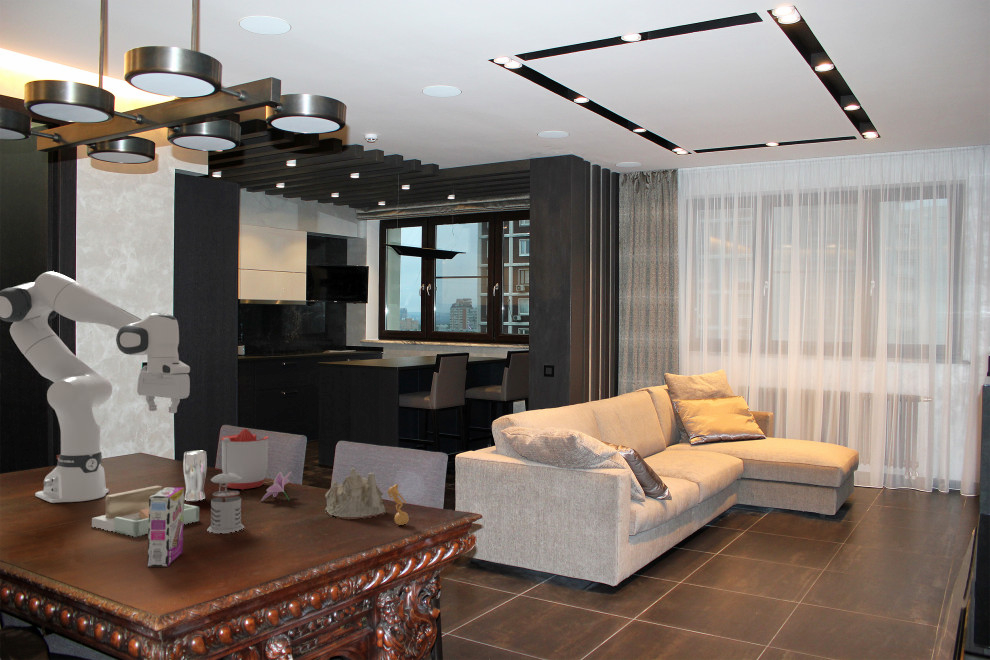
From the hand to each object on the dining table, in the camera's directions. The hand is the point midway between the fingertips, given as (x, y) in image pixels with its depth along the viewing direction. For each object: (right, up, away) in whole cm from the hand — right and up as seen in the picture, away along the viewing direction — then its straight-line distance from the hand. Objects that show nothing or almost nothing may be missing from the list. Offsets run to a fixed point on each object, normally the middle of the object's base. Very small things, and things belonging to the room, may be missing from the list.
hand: (162, 411), depth 235 cm
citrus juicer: (+16, -29, +31) cm, 46 cm away
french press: (+27, -30, -22) cm, 46 cm away
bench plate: (0, -29, -17) cm, 34 cm away
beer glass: (+6, -29, +11) cm, 32 cm away
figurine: (+74, -30, -18) cm, 82 cm away
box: (+8, -29, -22) cm, 37 cm away
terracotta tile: (+6, -28, -21) cm, 35 cm away
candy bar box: (+23, -30, -51) cm, 64 cm away
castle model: (+59, -30, -4) cm, 67 cm away
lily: (+32, -30, +11) cm, 45 cm away
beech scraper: (-1, -27, -16) cm, 31 cm away
